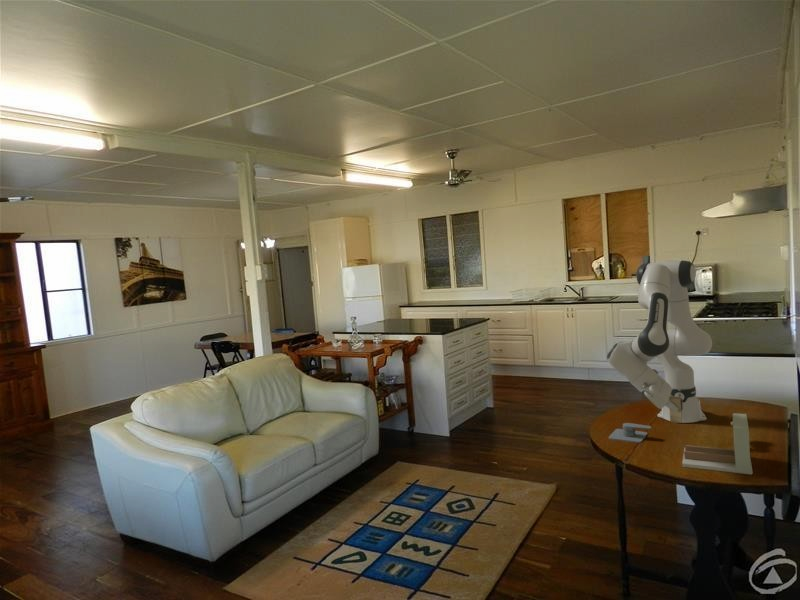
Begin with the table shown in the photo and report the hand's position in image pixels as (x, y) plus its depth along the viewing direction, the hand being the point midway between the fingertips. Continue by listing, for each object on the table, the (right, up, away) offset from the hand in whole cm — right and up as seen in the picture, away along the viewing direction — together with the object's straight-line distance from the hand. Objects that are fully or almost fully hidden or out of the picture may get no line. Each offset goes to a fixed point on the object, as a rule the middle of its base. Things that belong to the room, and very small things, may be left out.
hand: (677, 408), depth 185 cm
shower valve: (-5, -17, +26) cm, 32 cm away
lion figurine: (+28, -15, +8) cm, 33 cm away
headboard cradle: (+11, -17, -5) cm, 21 cm away
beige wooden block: (0, -5, +1) cm, 5 cm away
